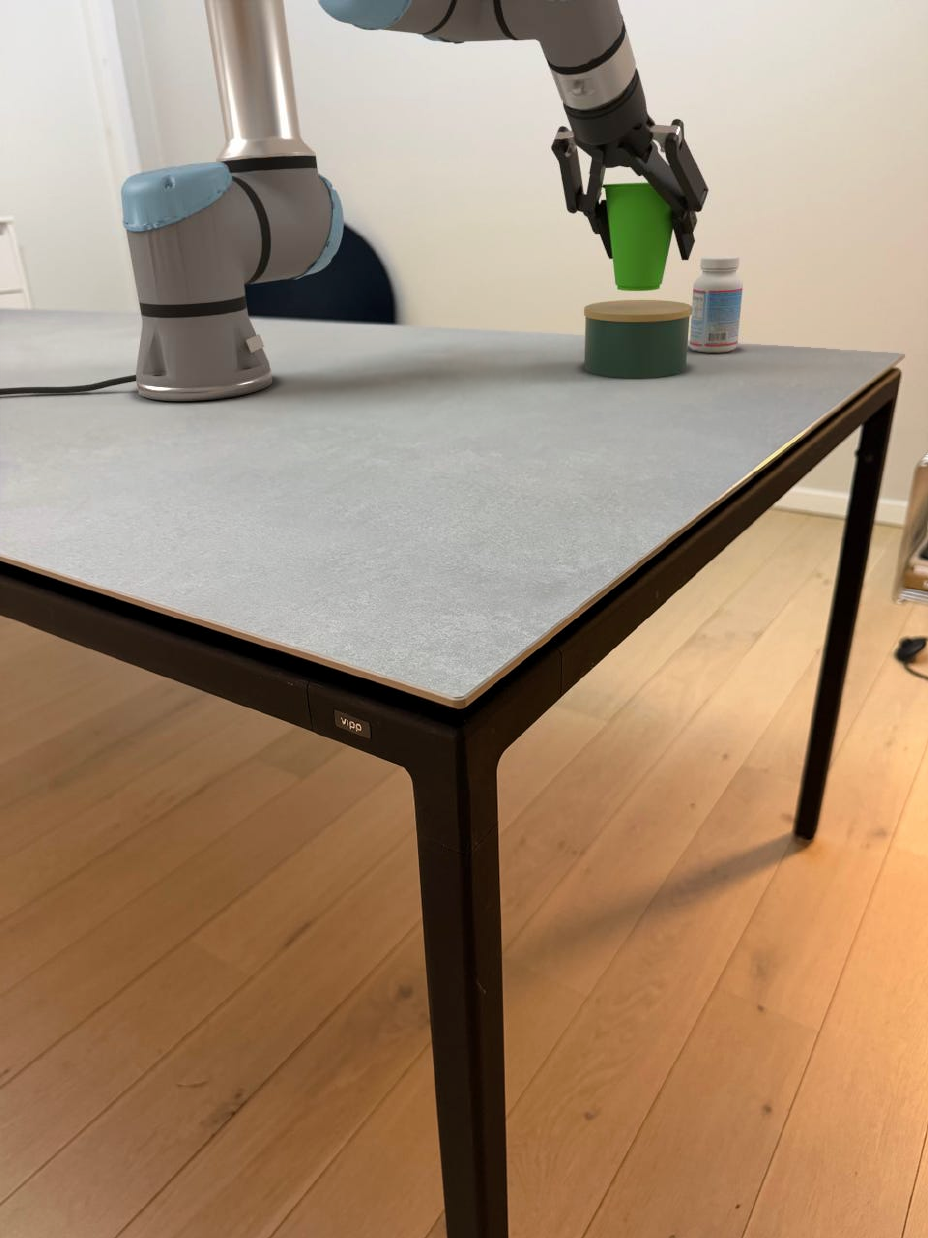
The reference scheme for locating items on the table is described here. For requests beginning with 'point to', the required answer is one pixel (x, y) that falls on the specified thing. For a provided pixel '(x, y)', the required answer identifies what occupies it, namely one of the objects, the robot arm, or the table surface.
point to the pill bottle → (716, 305)
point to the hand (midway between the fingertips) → (651, 249)
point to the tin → (636, 338)
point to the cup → (638, 235)
